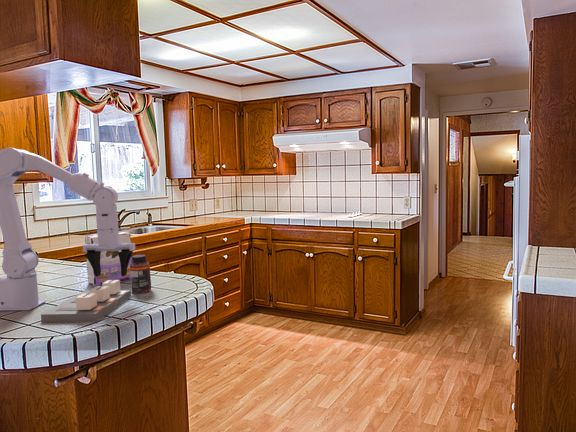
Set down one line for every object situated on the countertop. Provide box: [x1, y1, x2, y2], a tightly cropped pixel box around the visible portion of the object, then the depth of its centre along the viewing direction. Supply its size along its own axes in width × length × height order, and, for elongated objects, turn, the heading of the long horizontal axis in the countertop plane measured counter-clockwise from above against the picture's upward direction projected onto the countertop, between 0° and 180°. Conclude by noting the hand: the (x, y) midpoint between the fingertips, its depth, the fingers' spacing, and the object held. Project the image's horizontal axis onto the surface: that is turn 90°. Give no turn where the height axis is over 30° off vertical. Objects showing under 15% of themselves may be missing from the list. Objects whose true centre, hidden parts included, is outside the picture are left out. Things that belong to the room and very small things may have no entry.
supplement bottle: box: [130, 254, 152, 294], centre depth 142 cm, size 6×6×11 cm
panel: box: [40, 289, 132, 323], centre depth 125 cm, size 14×23×2 cm, turn 178°
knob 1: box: [89, 285, 110, 302], centre depth 125 cm, size 4×4×3 cm
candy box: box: [84, 231, 133, 287], centre depth 157 cm, size 14×6×16 cm, turn 134°
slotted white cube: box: [76, 293, 97, 310], centre depth 118 cm, size 4×4×3 cm
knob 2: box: [102, 280, 122, 294], centre depth 132 cm, size 4×4×3 cm
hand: (111, 275), depth 132 cm, fingers open, 7 cm apart
